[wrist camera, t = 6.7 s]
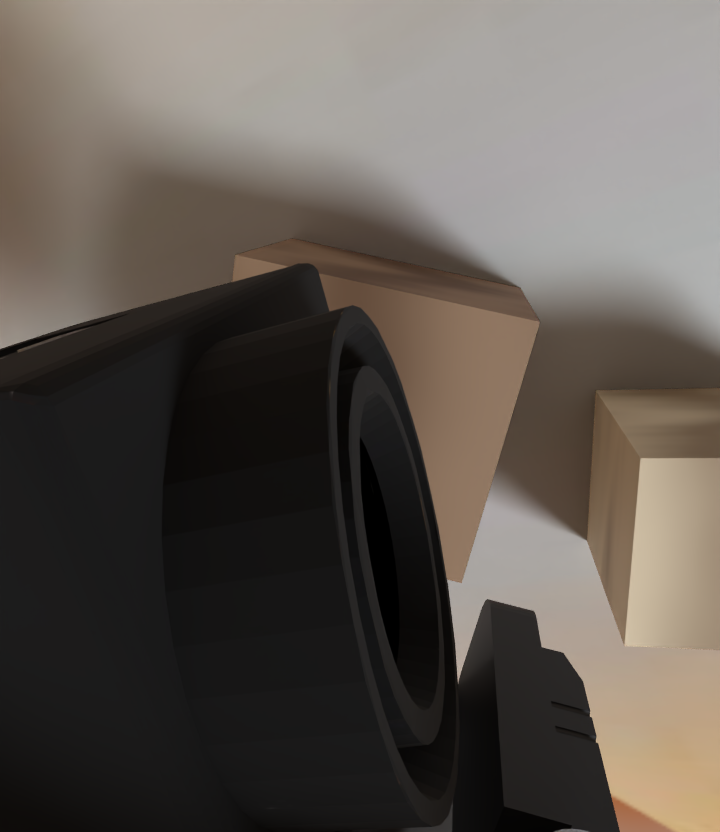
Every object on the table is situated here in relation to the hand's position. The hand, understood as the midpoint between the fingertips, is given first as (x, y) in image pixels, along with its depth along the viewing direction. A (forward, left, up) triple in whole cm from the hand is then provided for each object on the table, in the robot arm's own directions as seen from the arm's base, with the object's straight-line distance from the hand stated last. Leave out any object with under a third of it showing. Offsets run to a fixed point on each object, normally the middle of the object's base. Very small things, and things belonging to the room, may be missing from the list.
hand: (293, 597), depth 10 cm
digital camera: (0, 0, -1) cm, 1 cm away
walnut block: (0, 0, -14) cm, 14 cm away
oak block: (-11, +1, -14) cm, 18 cm away
